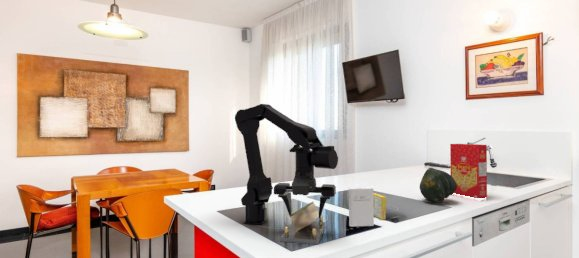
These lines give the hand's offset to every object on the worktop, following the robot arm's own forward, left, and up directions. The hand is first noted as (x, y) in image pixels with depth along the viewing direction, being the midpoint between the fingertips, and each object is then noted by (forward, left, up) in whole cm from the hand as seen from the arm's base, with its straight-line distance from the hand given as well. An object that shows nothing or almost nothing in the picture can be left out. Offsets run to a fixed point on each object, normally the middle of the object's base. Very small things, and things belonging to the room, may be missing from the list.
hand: (304, 217), depth 101 cm
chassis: (0, 0, -5) cm, 5 cm away
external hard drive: (+17, +12, -5) cm, 21 cm away
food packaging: (+65, +68, -5) cm, 94 cm away
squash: (+49, +54, -5) cm, 73 cm away
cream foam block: (+1, +3, -2) cm, 4 cm away
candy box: (+21, +28, -5) cm, 35 cm away
